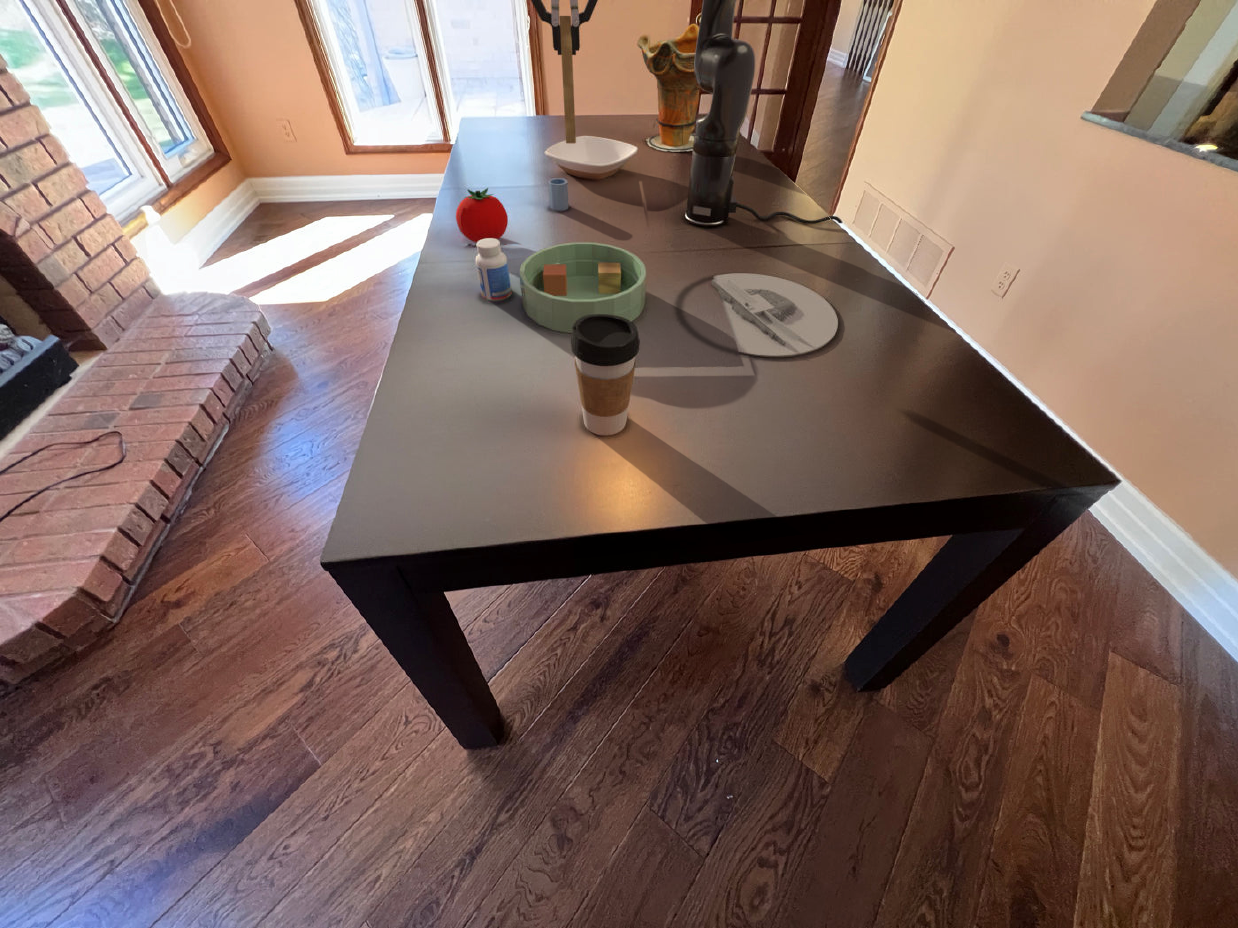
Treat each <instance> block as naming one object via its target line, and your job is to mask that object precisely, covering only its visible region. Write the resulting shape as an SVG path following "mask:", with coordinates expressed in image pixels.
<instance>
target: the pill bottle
mask: <svg viewBox="0 0 1238 928" xmlns="http://www.w3.org/2000/svg"><path fill="white" fill-rule="evenodd" d="M475 243H476V242H475ZM476 250H477V253H478V254H477V255H476V256H475V259H474V260H475V267H476V273H477V277H478V282H479V286H480V287H479V289H480V293H481V297H482V298H484V300H485V299H486V300H489V301H502V300H506V299H507V298H509V297H510V296H511V295H512V292H513V291H512V286H511V285H512V284H511V277H510V271H509V265H508V258H507V255H506V254H505V253H504V252H502V246H501V242H500V240H499V239H498V240H497V239H494V238H486V239H482V240H479V241H478V242H477V243H476Z"/></svg>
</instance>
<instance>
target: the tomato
mask: <svg viewBox="0 0 1238 928" xmlns="http://www.w3.org/2000/svg"><path fill="white" fill-rule="evenodd" d="M466 190H467V192H468V193H469V195H467V196H465V197H464V198H463V199H462V200H461V201H460V202H459V204H458V206H457V208H456V210H455V211H456V212H455V221H456V224H457V227H458V230H459V232H460V233H461V234H462V235H463V236H464V237H466V239H468V240H470V241H471V242H473V243H477V242H478V241H479V240H482V239H486V238H494V239H497V240H499V239H500V238H502V236H504V234H505V232H506V230H507V228H508V224H509V223H508V222H509V218H508V217H509V216H508V213H507V211H506V209H505V206H504V204H503V203H502V202H501V201H500V199H498V198H497V197H496V196H494V193H491V194H487V193H488V191H489V187H487V188H485V189H484V190H482V191H480V190H475V191H472V190H470V189H468V188H467V189H466Z"/></svg>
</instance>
